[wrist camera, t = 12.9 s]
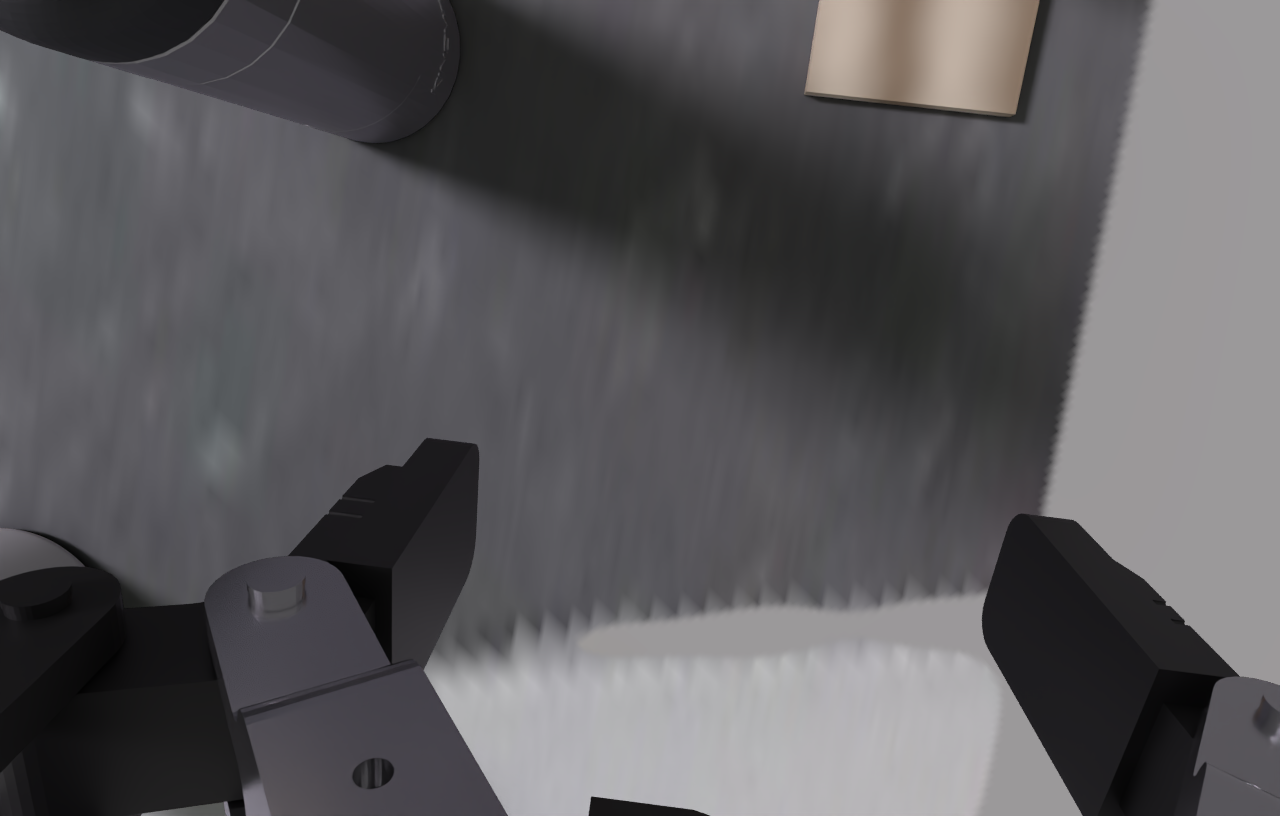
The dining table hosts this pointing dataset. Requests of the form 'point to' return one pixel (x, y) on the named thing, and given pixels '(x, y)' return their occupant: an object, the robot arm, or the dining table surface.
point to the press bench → (923, 53)
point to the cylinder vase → (30, 553)
